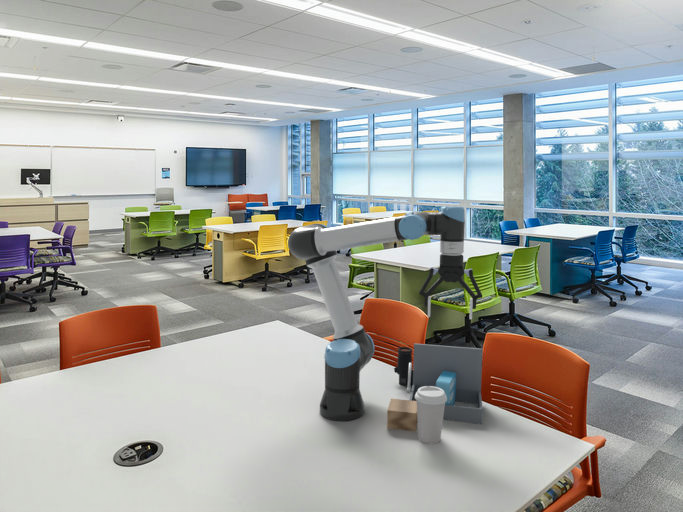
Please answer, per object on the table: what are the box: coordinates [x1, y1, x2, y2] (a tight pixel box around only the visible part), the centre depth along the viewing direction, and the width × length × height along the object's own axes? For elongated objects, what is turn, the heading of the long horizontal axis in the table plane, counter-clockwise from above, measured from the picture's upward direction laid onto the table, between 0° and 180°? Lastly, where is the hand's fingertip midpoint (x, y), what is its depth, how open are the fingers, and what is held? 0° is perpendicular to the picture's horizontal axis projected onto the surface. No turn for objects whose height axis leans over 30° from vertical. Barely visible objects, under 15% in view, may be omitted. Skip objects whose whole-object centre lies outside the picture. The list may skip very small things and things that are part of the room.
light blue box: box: [436, 371, 456, 406], centre depth 172 cm, size 12×4×12 cm, turn 156°
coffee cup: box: [414, 386, 447, 445], centre depth 152 cm, size 10×10×15 cm
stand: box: [386, 398, 418, 433], centre depth 162 cm, size 9×9×6 cm
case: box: [406, 343, 484, 425], centre depth 171 cm, size 25×16×20 cm, turn 77°
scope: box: [393, 346, 413, 387], centre depth 194 cm, size 8×14×10 cm
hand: (449, 317), depth 168 cm, fingers open, 13 cm apart
